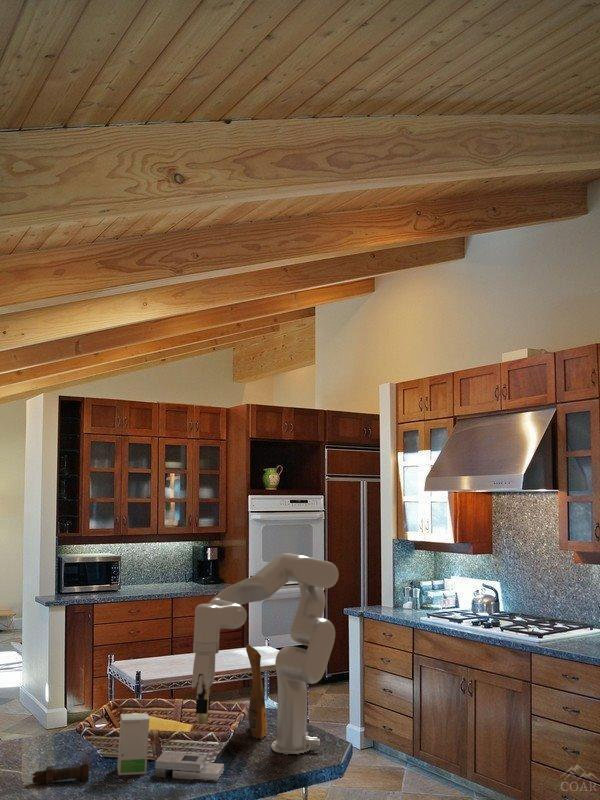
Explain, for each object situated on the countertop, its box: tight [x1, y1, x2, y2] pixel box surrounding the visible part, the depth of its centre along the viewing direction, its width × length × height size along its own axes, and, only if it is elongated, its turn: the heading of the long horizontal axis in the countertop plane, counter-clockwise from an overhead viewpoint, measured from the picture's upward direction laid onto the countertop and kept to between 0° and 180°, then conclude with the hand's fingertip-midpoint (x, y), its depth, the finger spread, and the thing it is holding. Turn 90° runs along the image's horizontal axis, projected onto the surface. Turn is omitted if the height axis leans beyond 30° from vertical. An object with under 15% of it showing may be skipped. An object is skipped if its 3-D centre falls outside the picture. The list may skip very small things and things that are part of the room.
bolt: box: [32, 759, 90, 786], centre depth 226 cm, size 6×5×15 cm
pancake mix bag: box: [245, 643, 268, 740], centre depth 275 cm, size 7×19×28 cm, turn 9°
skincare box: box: [116, 712, 150, 776], centre depth 236 cm, size 8×7×16 cm
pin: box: [196, 686, 209, 725], centre depth 236 cm, size 3×3×10 cm
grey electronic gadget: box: [154, 751, 225, 782], centre depth 235 cm, size 18×8×4 cm, turn 83°
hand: (202, 710), depth 236 cm, fingers closed on pin, 3 cm apart
